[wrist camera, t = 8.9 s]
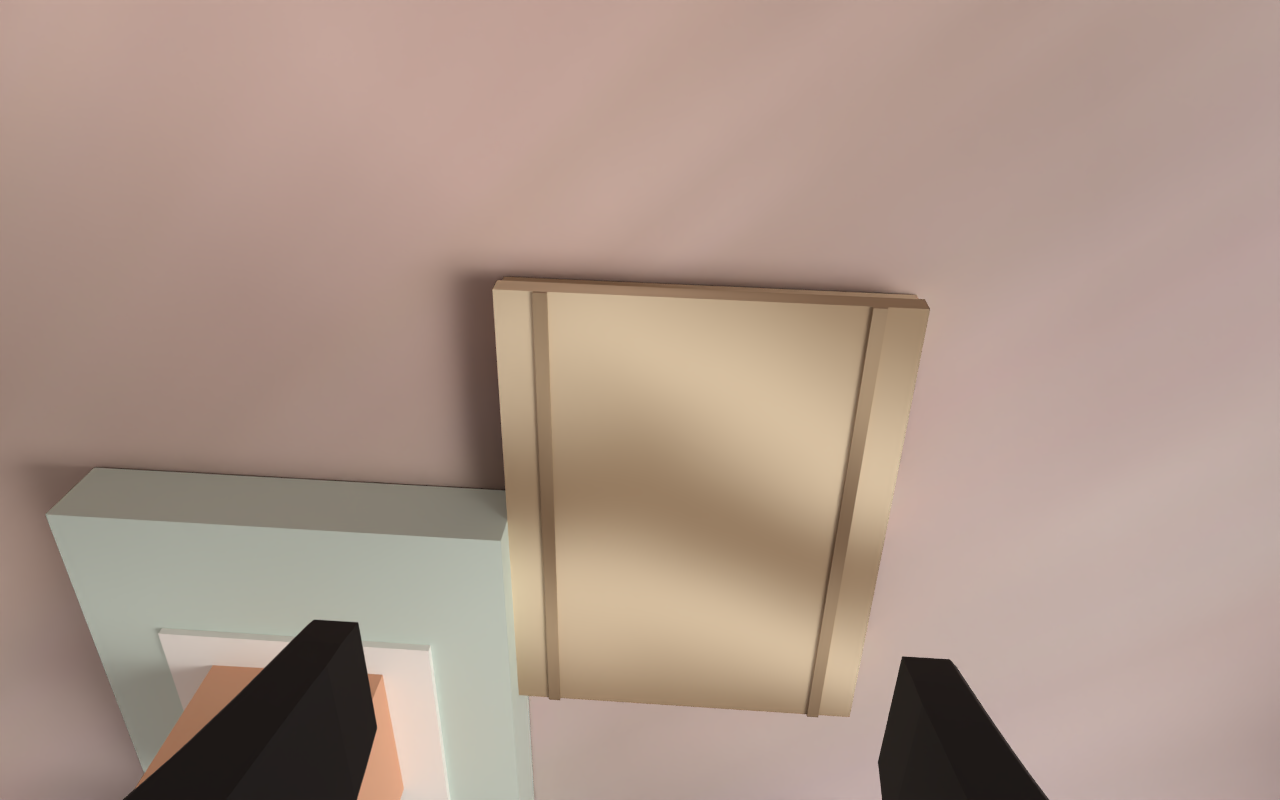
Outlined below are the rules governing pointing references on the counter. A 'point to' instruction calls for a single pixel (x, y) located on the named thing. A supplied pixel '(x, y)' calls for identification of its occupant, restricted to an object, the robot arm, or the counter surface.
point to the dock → (308, 604)
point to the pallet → (699, 486)
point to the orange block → (228, 681)
